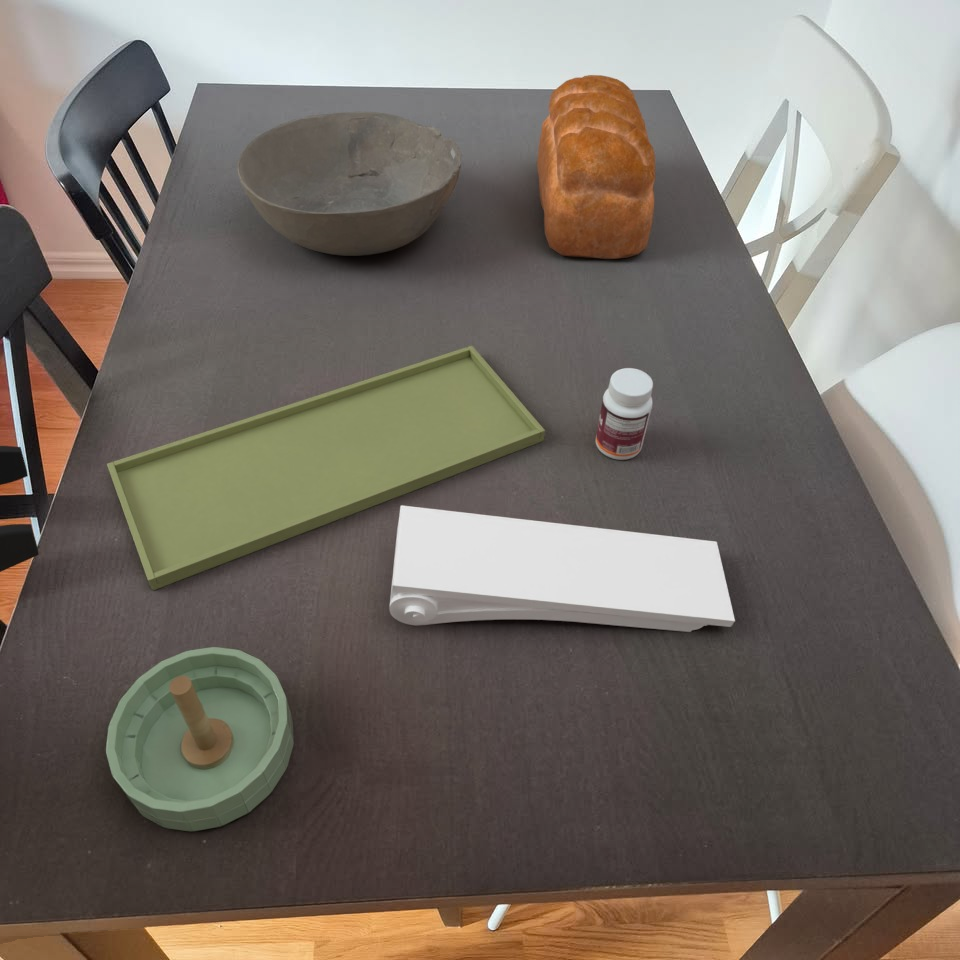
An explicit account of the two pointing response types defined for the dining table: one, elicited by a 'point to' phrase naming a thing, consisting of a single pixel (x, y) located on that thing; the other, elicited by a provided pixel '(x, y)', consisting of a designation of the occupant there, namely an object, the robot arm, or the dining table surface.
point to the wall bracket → (552, 573)
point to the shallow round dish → (161, 727)
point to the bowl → (350, 180)
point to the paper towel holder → (200, 729)
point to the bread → (596, 170)
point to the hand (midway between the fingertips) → (29, 498)
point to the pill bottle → (624, 414)
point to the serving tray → (315, 462)
